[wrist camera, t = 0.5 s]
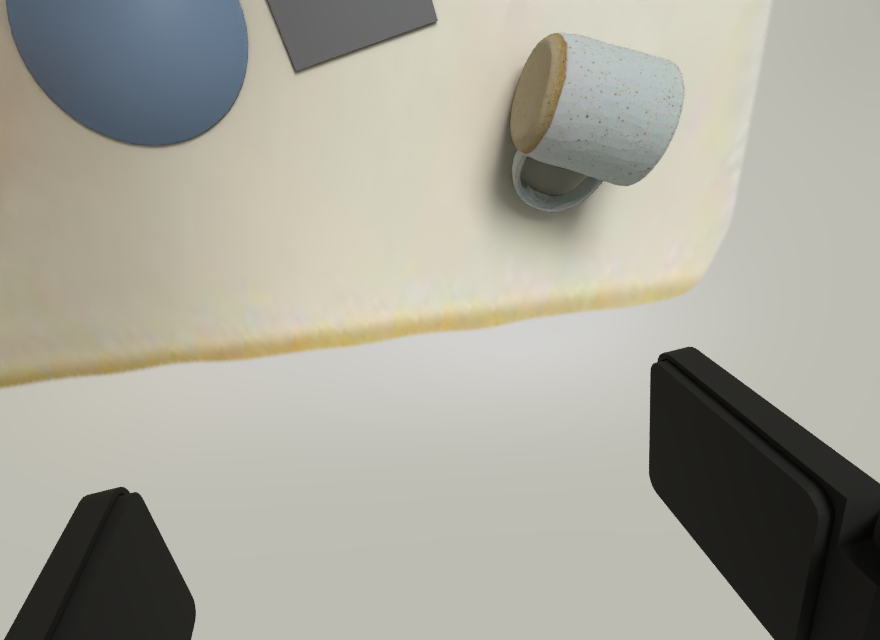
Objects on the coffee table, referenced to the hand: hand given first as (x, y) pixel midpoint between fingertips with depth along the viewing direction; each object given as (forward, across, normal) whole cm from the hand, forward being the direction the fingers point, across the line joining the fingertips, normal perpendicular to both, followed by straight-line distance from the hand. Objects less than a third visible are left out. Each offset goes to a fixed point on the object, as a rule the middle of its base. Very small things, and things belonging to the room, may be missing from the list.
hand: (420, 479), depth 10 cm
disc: (+29, +10, -10) cm, 33 cm away
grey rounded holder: (+30, -15, -1) cm, 33 cm away
